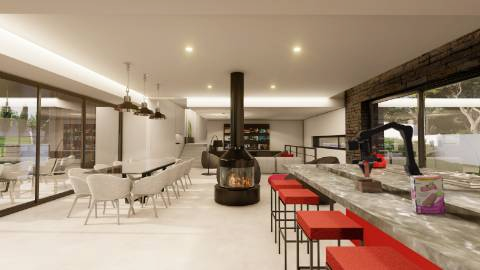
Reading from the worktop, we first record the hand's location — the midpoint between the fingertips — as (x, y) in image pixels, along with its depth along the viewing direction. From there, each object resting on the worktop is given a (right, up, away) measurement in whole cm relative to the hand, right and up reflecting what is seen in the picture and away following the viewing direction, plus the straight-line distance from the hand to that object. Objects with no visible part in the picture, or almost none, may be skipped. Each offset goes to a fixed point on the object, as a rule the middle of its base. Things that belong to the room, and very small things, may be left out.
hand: (366, 174), depth 165 cm
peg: (0, -2, 0) cm, 2 cm away
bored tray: (+1, -10, 0) cm, 10 cm away
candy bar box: (+2, -10, -52) cm, 53 cm away
